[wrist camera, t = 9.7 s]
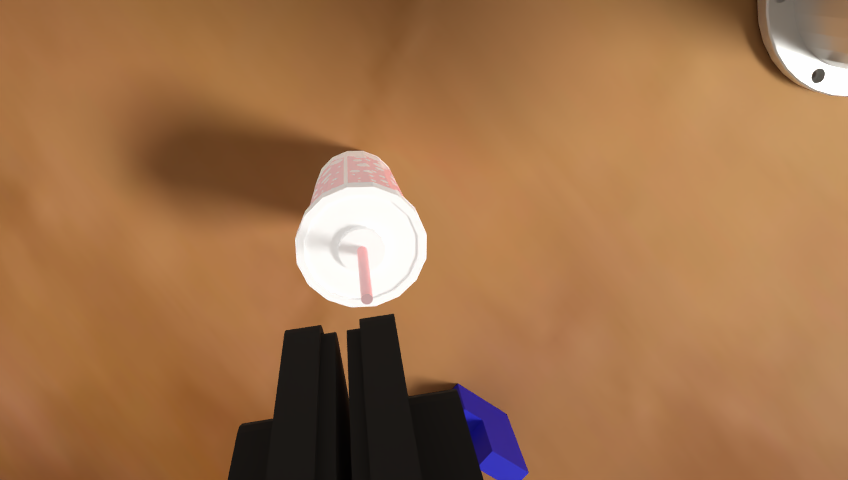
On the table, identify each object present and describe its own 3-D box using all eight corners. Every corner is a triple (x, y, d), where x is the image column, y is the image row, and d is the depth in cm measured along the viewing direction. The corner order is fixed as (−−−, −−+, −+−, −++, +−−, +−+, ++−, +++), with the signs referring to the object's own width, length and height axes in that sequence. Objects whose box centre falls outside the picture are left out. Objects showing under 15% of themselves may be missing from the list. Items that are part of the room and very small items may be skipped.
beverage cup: (317, 247, 41) (309, 380, 28) (290, 149, 38) (269, 246, 25) (417, 224, 41) (455, 346, 28) (396, 126, 39) (428, 211, 26)
